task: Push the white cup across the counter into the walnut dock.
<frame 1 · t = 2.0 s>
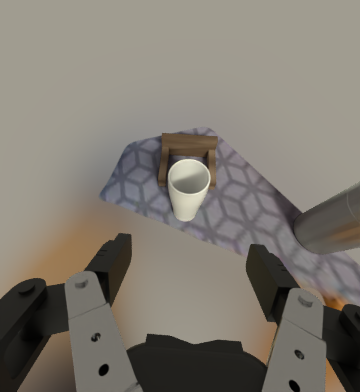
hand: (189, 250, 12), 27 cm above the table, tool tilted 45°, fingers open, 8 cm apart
walnut dock: (187, 170, 47), on the table
white cup: (184, 211, 42), on the table
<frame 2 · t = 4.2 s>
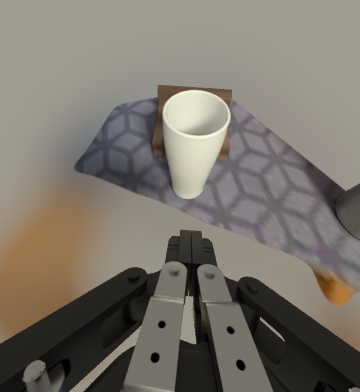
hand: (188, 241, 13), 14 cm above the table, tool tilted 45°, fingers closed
walnut dock: (190, 137, 36), on the table
white cup: (187, 186, 31), on the table
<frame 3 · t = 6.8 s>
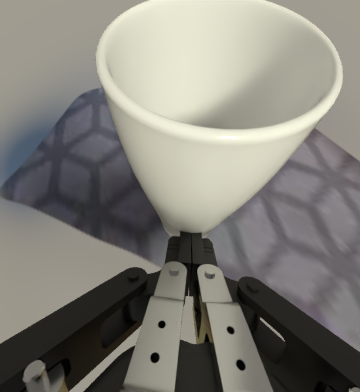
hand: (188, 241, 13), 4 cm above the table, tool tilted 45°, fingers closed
white cup: (187, 217, 19), on the table, touching gripper
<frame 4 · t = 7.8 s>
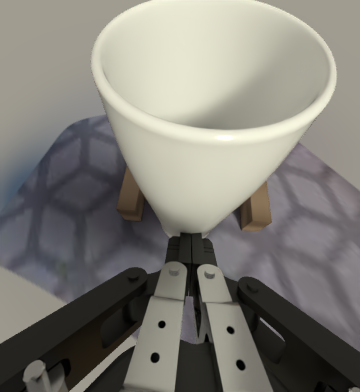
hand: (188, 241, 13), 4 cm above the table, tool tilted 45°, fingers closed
walnut dock: (193, 181, 20), on the table
white cup: (186, 218, 19), on the table, touching gripper
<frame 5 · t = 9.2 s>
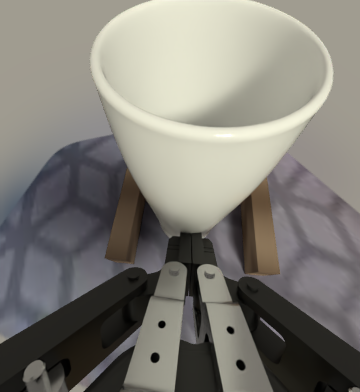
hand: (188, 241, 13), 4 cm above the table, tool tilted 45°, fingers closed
walnut dock: (192, 216, 19), on the table
white cup: (186, 218, 19), on the table, touching gripper
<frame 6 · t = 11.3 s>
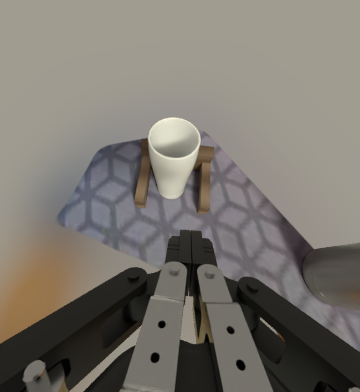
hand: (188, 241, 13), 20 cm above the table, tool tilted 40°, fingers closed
walnut dock: (173, 187, 37), on the table
white cup: (170, 188, 37), on the table
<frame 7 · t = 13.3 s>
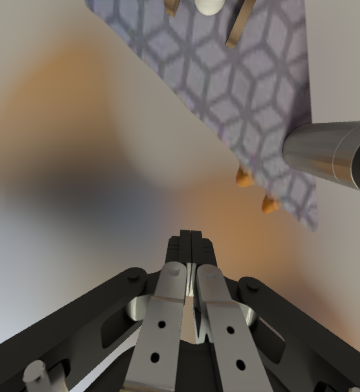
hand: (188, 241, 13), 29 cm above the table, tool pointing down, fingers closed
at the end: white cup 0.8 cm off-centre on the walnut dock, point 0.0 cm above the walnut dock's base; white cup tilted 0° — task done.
